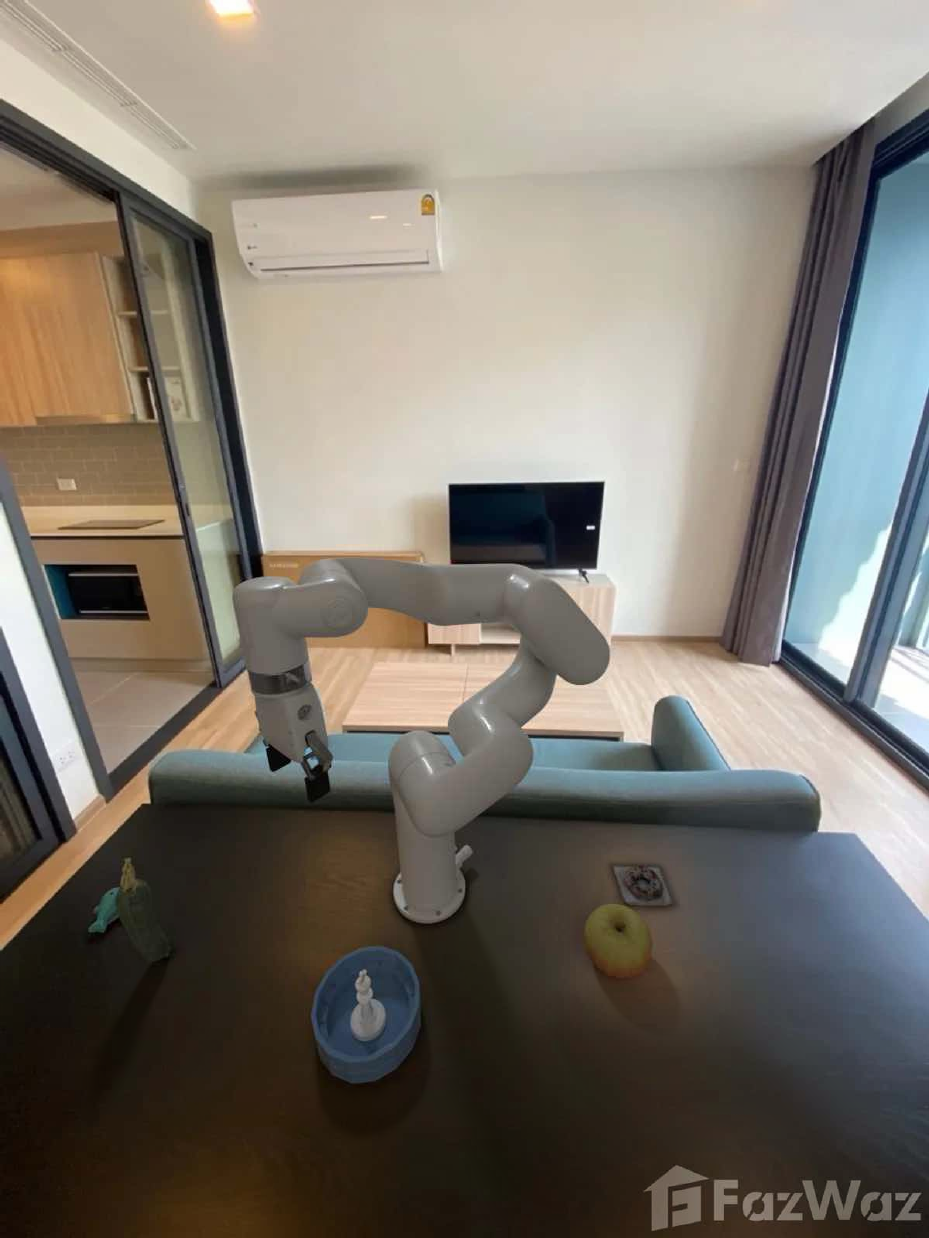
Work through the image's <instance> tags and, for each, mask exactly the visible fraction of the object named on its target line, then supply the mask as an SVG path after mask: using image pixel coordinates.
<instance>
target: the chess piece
mask: <svg viewBox="0 0 929 1238" xmlns="http://www.w3.org/2000/svg"><path fill="white" fill-rule="evenodd" d="M366 973H367V970H363V971H360V973H359V978H358V979H357V980H356V983H355V987H356V989H357V991H358V992H357V1001H358V1002H359V1004H358V1005H357V1006H356V1007H355V1009H354V1011H353V1013H352V1015H351V1020H350V1028H351V1032H352V1034H353V1036H354V1037H355V1038H356V1039H358V1040H360V1041H370V1040H373V1039H374V1038H376V1037H377V1036H378V1035H379V1034H380V1033H381V1032H382V1031H383V1029H384V1027H385V1024H386V1011H385V1008H384V1006H383V1005H382V1003H381V1002H379V1001H378V1000H375V999H371V998H372V996H373V991H372V989H371V988H370V984H371V980H370V978H369V977H368V976H366Z"/></svg>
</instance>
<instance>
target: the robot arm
mask: <svg viewBox="0 0 929 1238" xmlns="http://www.w3.org/2000/svg"><path fill="white" fill-rule="evenodd" d="M231 596H232V597H231V598H232V599H231V601H232V606H233V611H234V615H235V621H236V626H237V629H238V635H239V640H240V645H241V649H242V654H243V660H244V663H245V668H246V673H247V677H248V682H249V688H250V692H251V693H252V695H254V704H255V710H254V716H255V717H256V720H257V723H258V730H259V732H260V734H261V736H262V738H263V739H262V744H263V746H264V747H265V753H266V758H267V763H268V767H269V771H270V772H272V773H275V772H277V771H279V770H281V769H283V768H284V767H286V766H288V765H290V764H291V763H292V762H294V763H298V764H300V766H301V768H302V770H303V773H305V775H306V776H305V777H304V778H303V779H304V780H303V781H304V786H305V791H306V797H307V801H308V802H309V803H310V804H313V803H315V802H317V801H319V800H320V799H321V798H323V797H324V796H326V795H327V794H329V793H330V792H331V782H330V777H329V776H330V775H329V771H330V770H331V768H332V763H333V759H334V756H333V754H332V752H331V751H330V750H329V749H328V748H329V738H328V737H329V736H328V731H327V727H326V722H325V718H324V713H323V708H322V705H321V702H320V698H319V696H318V692H317V691H316V690H317V689H316V688H315V685H314V684H313V683H312V682H313V675H312V669H311V668H312V667H311V662H310V656H309V649H308V644H307V639H308V638H310V639H311V638H312V639H313V638H316V639H317V638H319V639H321V638H322V639H323V638H324V639H326V638H327V639H328V638H340V637H345V636H349V635H351V634H353V633H355V632H356V631H358V630H359V629H360V628H361V627H362V626H363V625H364V623H365V622H366V620H367V617H368V614H369V608H370V609H382V610H389V611H393V612H397V613H400V614H404V615H406V616H408V617H411V618H413V619H415V620H417V621H420V622H422V623H426V624H429V625H433V626H436V627H437V626H438V627H450V626H462V625H476V624H477V625H479V624H494V623H496V624H497V623H503V624H504V623H505V624H507V625H508V626H510V628H512V629H514V630H515V631H516V632H517V633H519V634H520V636H519V644H518V648H517V652H516V655H515V658H514V659H513V661H512V663H511V664H510V665H509V667H508V668H507V669H506V670H505V671H504V672H503V673H501V674H500V675H499V676H498V677H496V678H495V679H494V680H492V681H491V682H490V683H488V684H486V686H484V687H483V688H482V689H480V690H479V691H478V692H476V693H474V694H473V695H472V696H471V697H469V698H468V699H466V700H465V701H464V702H462V703H460V705H458V706H457V707H456V708H455V709H454V710H453V711H452V712H451V714H450V715H449V717H448V719H447V730H448V733H449V736H450V738H451V740H452V742H453V744H454V746H455V747H456V748H457V750H458V752H459V753H460V754H461V756H462V759H460V760H458V762H456V760H455V759H454V757H453V755H452V754H451V752H450V750H449V749H448V748H447V746H446V745H445V743H444V742H443V741H442V740H441V738H439V737H438V736H436V735H435V734H433V733H432V732H429V731H426V730H421V729H418V730H417V729H416V730H411V731H408V732H406V733H404V734H403V735H401V736H400V737H399V738H397V740H396V741H395V742H394V743H393V746H392V747H391V750H390V752H389V755H388V761H387V772H388V779H389V784H390V790H391V794H392V801H393V807H394V814H395V815H394V816H395V825H396V827H395V828H396V839H397V851H398V859H399V869H400V870H399V871H400V872H398V875H397V876H396V878H395V880H394V883H393V889H392V890H393V892H392V893H393V900H394V905H395V906H396V908H397V910H398V911H399V913H400V914H402V915H403V916H404V917H405V918H406V919H408V920H410V921H412V922H415V923H419V924H434V923H439V922H442V921H444V920H446V919H448V918H449V917H451V916H452V915H453V914H454V913H456V912H457V911H458V910H459V908H460V907H461V905H462V904H463V901H464V899H465V895H466V880H465V877H464V875H463V872H462V871H461V868H462V867H463V863H464V862H465V861H467V859H468V858H469V857H471V856H472V855H473V853H474V852H473V848H472V847H471V846H469V845H468V844H465V845H464V846H463V847H461V849H460V850H458V847H457V845H456V835H455V833H456V832H457V831H459V830H460V829H462V828H463V827H465V826H466V825H468V824H469V823H470V822H471V821H474V819H476V818H477V817H478V816H479V815H481V814H482V813H483V812H485V811H486V810H487V809H488V808H491V806H493V805H494V804H495V803H496V802H498V801H500V799H502V798H503V797H505V796H506V795H508V794H509V792H511V791H512V790H514V788H515V787H517V786H518V785H519V784H520V783H521V782H522V781H523V779H524V778H525V777H526V776H527V775H528V773H529V771H530V769H531V766H532V764H533V761H534V747H533V743H532V741H531V739H530V737H529V735H528V734H527V733H526V731H525V730H524V729H523V728H522V727H524V726H525V725H526V724H528V722H530V721H531V720H532V719H533V718H535V717H536V716H537V715H538V714H539V713H540V712H542V711H543V710H544V709H545V707H546V706H547V705H548V703H549V701H550V699H551V697H552V695H553V693H554V689H555V686H556V681H557V677H559V678H561V679H562V680H563V681H564V682H567V683H569V684H572V685H574V686H587V685H591V684H593V683H595V682H596V681H599V679H600V678H602V677H603V675H605V673H606V671H607V669H608V667H609V665H610V660H611V648H610V646H609V642H608V640H607V638H606V637H605V636H604V634H603V633H602V632H601V631H600V629H599V628H598V627H597V626H596V625H595V623H594V622H593V621H592V620H591V619H590V617H588V615H587V614H586V613H585V612H584V610H583V609H581V607H580V606H579V605H578V604H577V602H576V600H574V599H573V598H572V596H571V595H570V594H569V593H568V592H567V591H566V590H565V588H563V587H562V586H561V584H559V583H558V582H556V581H555V580H553V579H551V578H549V577H548V576H545V575H544V574H542V573H539V572H538V571H536V570H534V569H532V568H530V567H528V566H525V565H523V564H517V563H475V564H474V563H472V564H471V563H469V564H468V563H467V564H464V563H462V564H461V563H459V564H458V563H457V564H435V563H426V562H420V561H407V560H399V559H390V558H379V557H330V558H329V557H328V558H323V559H319V560H316V561H313V562H311V563H310V564H308V565H307V566H306V567H304V569H303V570H302V571H301V573H300V575H299V577H298V580H297V583H295V581H293V580H292V579H291V578H289V577H285V576H279V575H270V576H259V577H254V578H250V579H248V580H245V581H243V582H240V583H239V584H238V585H237V586H235V587H234V589H233V591H232V595H231ZM307 749H310V750H311V751H310V752H309V753H306V752H307ZM313 757H315V759H316V760H317V764H316V765H315V766H313V767H311V765H310V763H309V761H308V760H309V759H312V758H313ZM457 850H458V852H457V853H456V851H457Z"/></svg>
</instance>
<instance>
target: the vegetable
mask: <svg viewBox="0 0 929 1238" xmlns="http://www.w3.org/2000/svg"><path fill="white" fill-rule="evenodd" d="M123 861H124V865H123V866H122V867H121V871H122V875H121V878H120V883H119V885H120V886H119V887H120V888H119V890H118V892H117V895H116V898H115V904H116V909H117V912H118V915H119V917H118V918H119V920H120V922H121V923H122V925H123V927H124V928H125V931H126V933H127V935H128V936H129V938H130V940H131V941H132V943H133V945H134V946H135V947H134V948H136V950H137V952H138V953H139V954H140V955H141V956H142V957H143V958H144V959H145V960H147V961H148V962H151V963H154V962H158V961H160V960H162V959H164V958H166V957H169V955H170V954H169V952H170V951H171V946H170V942H169V940H168V939H167V936H166V935H165V933H164V932H163V930H162V928H161V927H160V926H159V924H158V922H157V920H156V917H155V913H154V905H153V894H152V890H151V888H150V885H148V883H147V882H146V881H145V880H143V879H140V878H136V871H135V868H134V865H133V864H131V863H132V858H131V857H125V858H124V859H123Z"/></svg>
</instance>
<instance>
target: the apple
mask: <svg viewBox="0 0 929 1238" xmlns="http://www.w3.org/2000/svg"><path fill="white" fill-rule="evenodd" d="M583 933H584V934H583V943H584V947H585V950H586V953H587V955H588V957H589V958H590V960H591V961H592V963H593V964H594V965H595V967H596V968H597V969H599V970H600V971H601V972H602V973H603V974H605V975H606V976H608V977H612V978H614V979H617V980H619V979H620V980H623V979H624V980H625V979H626V980H630V979H631V978H634V977H637V976H638V975H640V974H642V973H643V972H644V971H645V970H646V968H647V967H648V965H649V964H650V962H651V957H652V952H653V939H652V934H651V931H650V929H649V927H648V926H647V924H646V922H645V920H644V919H643V917H642V916H641V915H639V914H638V913H637V912H636V911H635V910H633V909H631V908H629V907H627V906H626V905H624V904H618V903H614V902H613V903H606V904H602V905H600V906H599V907H597V908H596V909H595V910H593V911H592V912H591V913H590V914H589V916H588V918H587V920H586V921H585V925H584V932H583Z"/></svg>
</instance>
